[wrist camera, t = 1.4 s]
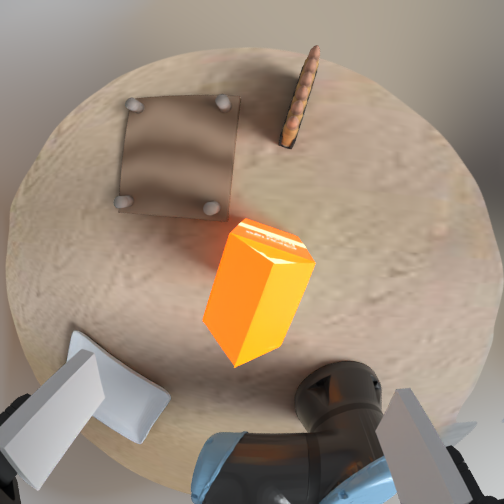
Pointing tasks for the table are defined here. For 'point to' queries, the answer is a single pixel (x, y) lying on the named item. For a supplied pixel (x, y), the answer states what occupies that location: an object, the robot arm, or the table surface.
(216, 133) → the peg stand
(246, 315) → the orange juice
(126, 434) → the salad plate
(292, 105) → the ammunition clip
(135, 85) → the table surface
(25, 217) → the table surface
